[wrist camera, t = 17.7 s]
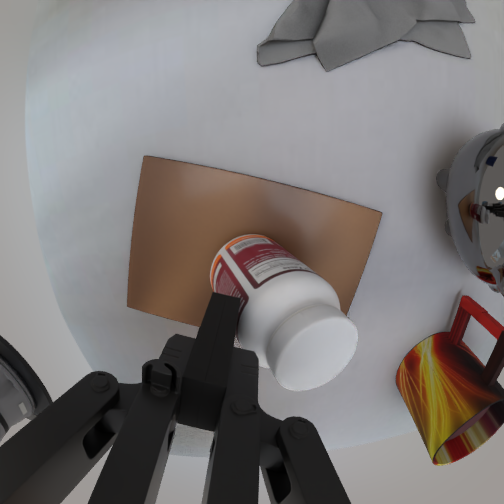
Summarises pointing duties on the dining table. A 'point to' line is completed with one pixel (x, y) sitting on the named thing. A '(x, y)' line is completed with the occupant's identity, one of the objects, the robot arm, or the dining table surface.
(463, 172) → the piggy bank
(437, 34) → the cloth
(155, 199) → the cork mat
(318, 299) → the pill bottle
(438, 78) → the dining table surface
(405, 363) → the mug
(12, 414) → the robot arm
